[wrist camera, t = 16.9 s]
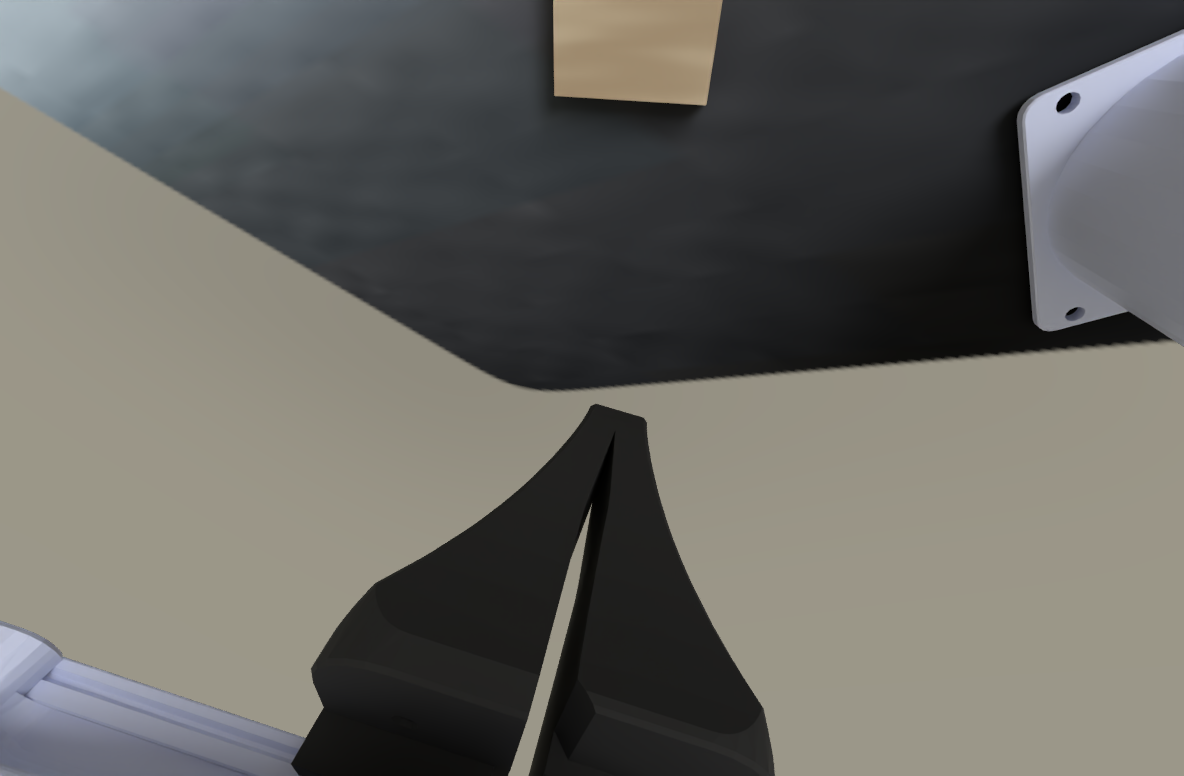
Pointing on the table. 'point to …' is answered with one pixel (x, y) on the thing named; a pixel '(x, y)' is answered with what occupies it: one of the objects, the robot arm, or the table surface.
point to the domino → (635, 49)
